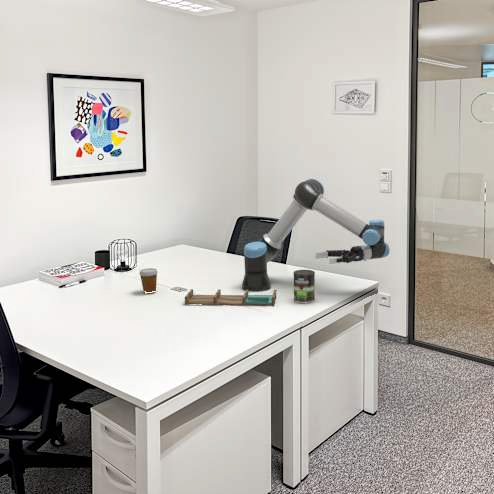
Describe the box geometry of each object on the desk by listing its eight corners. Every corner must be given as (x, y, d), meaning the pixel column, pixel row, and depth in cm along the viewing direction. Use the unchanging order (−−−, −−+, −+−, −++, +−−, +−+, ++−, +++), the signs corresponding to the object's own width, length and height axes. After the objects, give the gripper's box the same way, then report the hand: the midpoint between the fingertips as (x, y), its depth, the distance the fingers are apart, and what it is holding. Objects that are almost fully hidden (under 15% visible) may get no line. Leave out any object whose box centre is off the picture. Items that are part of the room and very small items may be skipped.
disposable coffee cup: (155, 295, 306) (153, 272, 303) (137, 294, 308) (136, 272, 305) (161, 290, 315) (160, 268, 312) (144, 289, 317) (143, 267, 314)
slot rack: (191, 296, 301) (191, 289, 300) (276, 297, 295) (276, 289, 294) (185, 305, 287) (184, 297, 286) (274, 305, 281) (273, 297, 281)
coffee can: (311, 304, 282) (311, 275, 279) (291, 302, 286) (290, 274, 283) (317, 298, 292) (317, 270, 289) (297, 296, 295) (297, 268, 293)
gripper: (374, 265, 285) (336, 271, 278) (346, 256, 308) (310, 261, 300) (374, 250, 284) (336, 255, 276) (346, 241, 307) (310, 246, 299)
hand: (322, 258), depth 288 cm, fingers open, 13 cm apart
